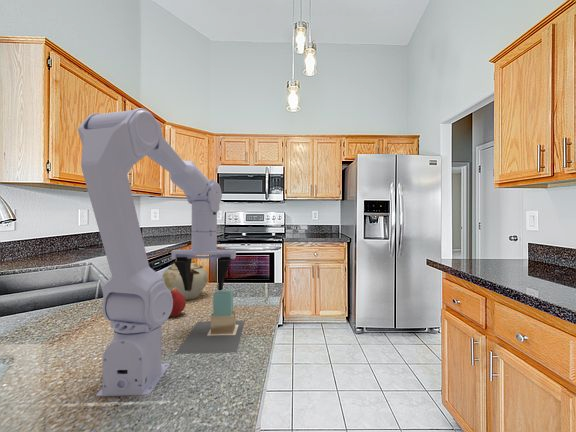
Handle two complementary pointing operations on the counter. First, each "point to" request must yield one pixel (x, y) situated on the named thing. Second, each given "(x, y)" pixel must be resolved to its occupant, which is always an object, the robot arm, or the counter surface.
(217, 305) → the teal block
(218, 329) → the maple block
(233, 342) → the mat
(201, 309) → the counter surface
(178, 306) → the onion
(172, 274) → the cream rounded vessel
